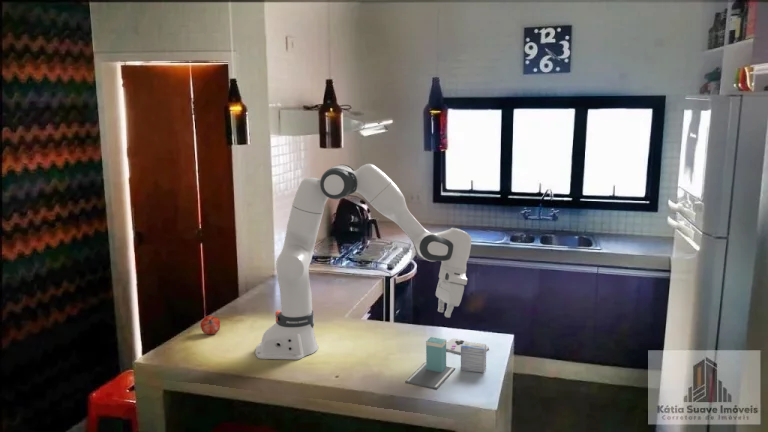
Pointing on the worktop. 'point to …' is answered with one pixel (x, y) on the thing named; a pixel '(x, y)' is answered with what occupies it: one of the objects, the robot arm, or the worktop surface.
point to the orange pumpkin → (210, 325)
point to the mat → (429, 377)
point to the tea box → (436, 354)
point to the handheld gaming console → (456, 346)
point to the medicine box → (473, 357)
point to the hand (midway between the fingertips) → (443, 314)
